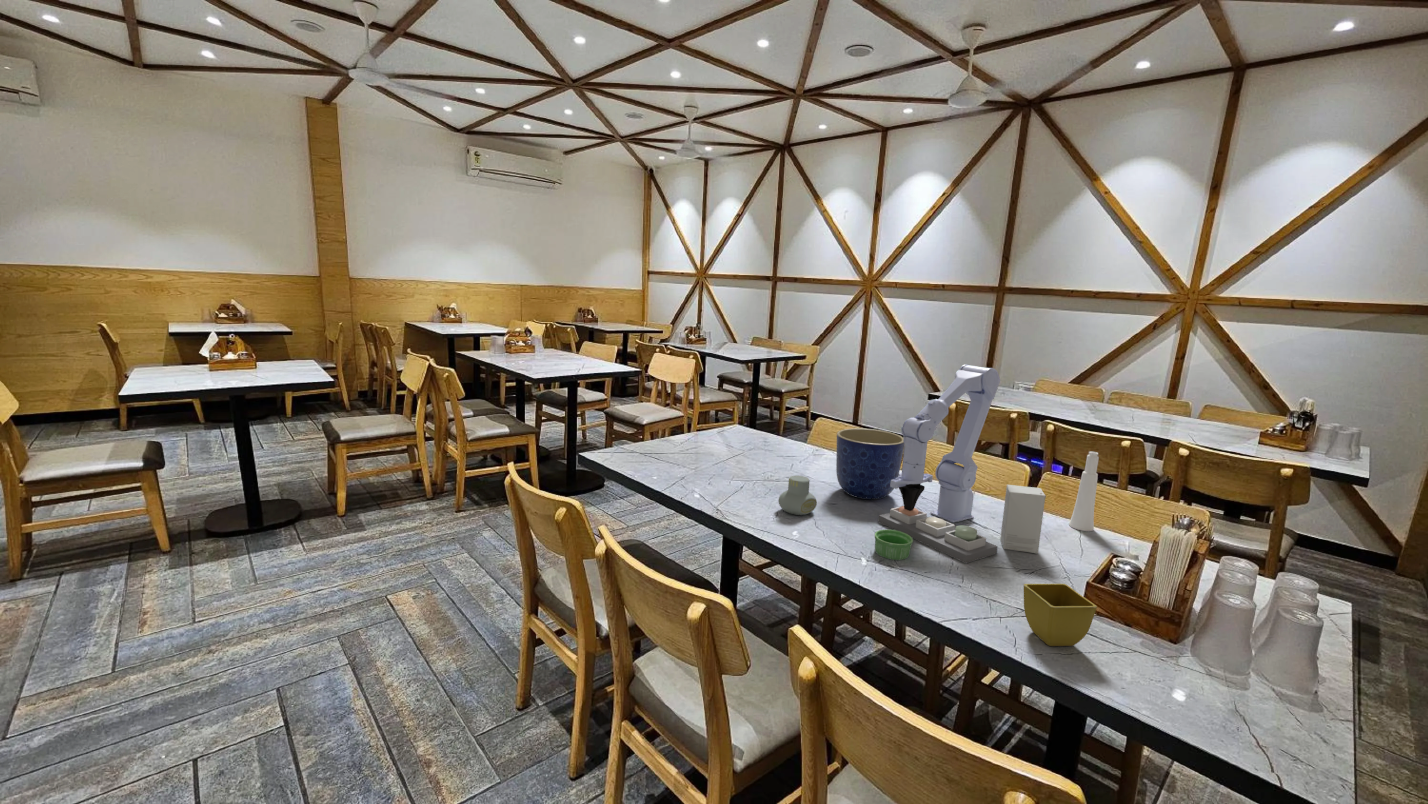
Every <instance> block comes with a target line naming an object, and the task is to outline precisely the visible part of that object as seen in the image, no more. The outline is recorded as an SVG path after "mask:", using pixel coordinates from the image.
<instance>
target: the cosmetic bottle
mask: <svg viewBox="0 0 1428 804" xmlns="http://www.w3.org/2000/svg"><path fill="white" fill-rule="evenodd" d="M1099 459H1100V457H1099V452H1096V451H1088V454H1087V455H1086V461H1085V467H1084V470H1083V471H1082V473H1081V477H1080V482H1079V486H1078V491H1077V496H1076V501H1075V504H1074V507H1073V512H1072V515H1071V518H1070V520H1069V523H1068V525H1069V527H1070V528H1072V529H1075V530H1078V531H1082V532H1092V531H1094V530H1095V524H1094V523H1095V522H1094V520H1095V519H1094V518H1095V516H1094V515H1095V506H1096V505H1095V503H1096V495H1097V487H1098V476H1099V474H1098V472H1097V471H1098V466H1099Z"/></svg>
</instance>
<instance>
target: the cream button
mask: <svg viewBox="0 0 1428 804" xmlns="http://www.w3.org/2000/svg"><path fill="white" fill-rule="evenodd" d="M927 517H928V518H926V522H925V523H926V524H928V525H931V526H933V527H935V528H941V527H945V526H946V522H947V520H945V519H943V518H940V517H937V518H935V517H936V516H934V517H932V516H927Z"/></svg>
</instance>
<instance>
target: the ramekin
mask: <svg viewBox="0 0 1428 804" xmlns="http://www.w3.org/2000/svg"><path fill="white" fill-rule="evenodd" d="M874 539H875V540H874V551H875V553H876V554H877V555H878V556H880V557H883V558H885V559H888V560H892V561H901V560H906V559H907V558H908V557H909V556H910V553H911V547H912V545H913V542H914V539H913V538H912V537H911V536H909V535H908V534H906V533H903V532H900V531H896V530H894V529H880V530H877V531H876V532H875V533H874Z"/></svg>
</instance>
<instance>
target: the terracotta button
mask: <svg viewBox="0 0 1428 804" xmlns="http://www.w3.org/2000/svg"><path fill="white" fill-rule="evenodd" d="M898 507H899V512H901V513H903V514H905V515H908V516H914V515H918V510H919V509H917V508H916V507H914V509H913V510H912V511H909V510H906V509H904V505H901V506H898Z"/></svg>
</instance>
